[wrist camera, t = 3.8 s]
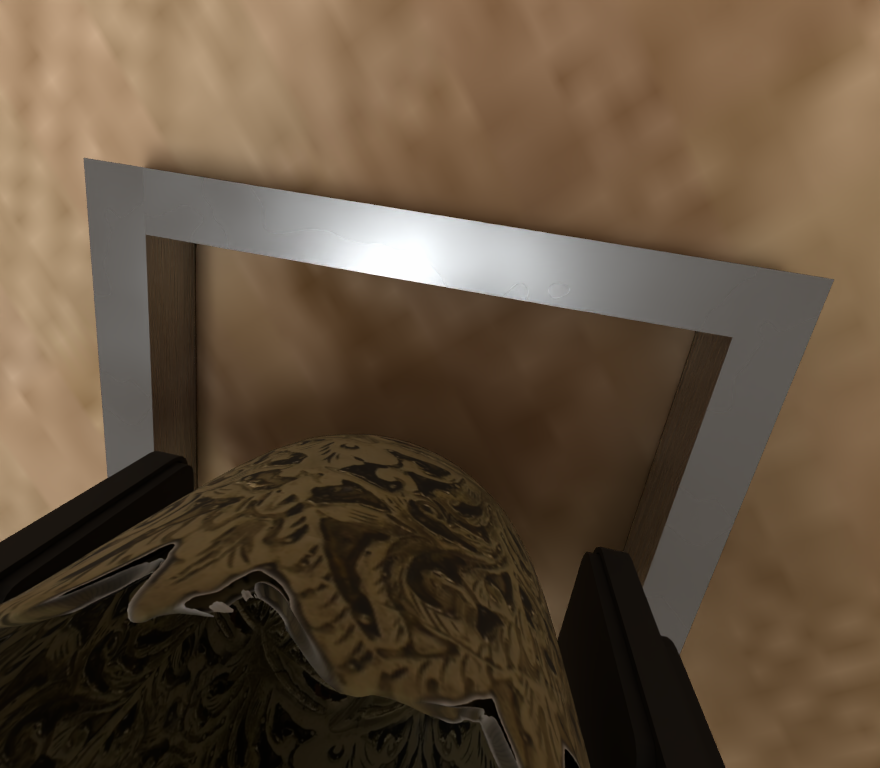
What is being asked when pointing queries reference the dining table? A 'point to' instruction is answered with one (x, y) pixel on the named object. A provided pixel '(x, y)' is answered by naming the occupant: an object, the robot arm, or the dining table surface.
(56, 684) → the dark bronze rounded piece
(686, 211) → the dining table surface
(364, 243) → the square metal frame
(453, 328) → the dining table surface
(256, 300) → the dining table surface
